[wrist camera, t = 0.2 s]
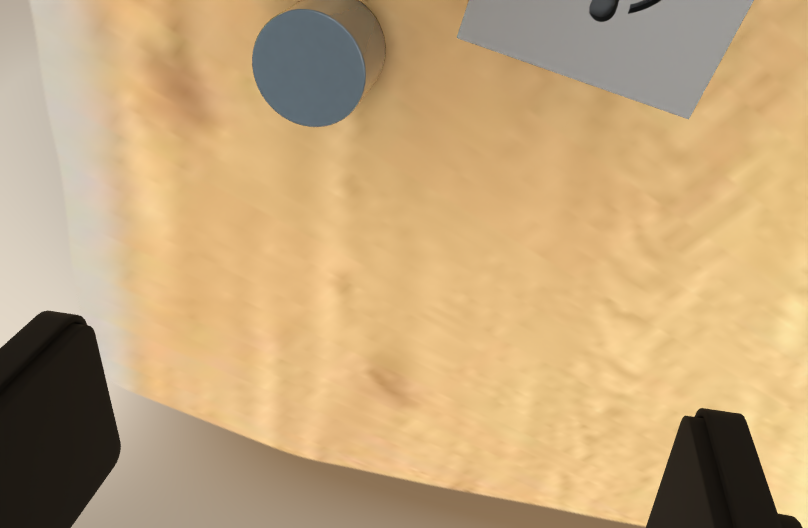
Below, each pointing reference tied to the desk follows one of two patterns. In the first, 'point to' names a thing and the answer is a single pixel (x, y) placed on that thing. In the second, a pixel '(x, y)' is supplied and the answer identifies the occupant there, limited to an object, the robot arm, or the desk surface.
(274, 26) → the short metal cylinder
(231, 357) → the desk surface
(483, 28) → the icon cube
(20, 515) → the robot arm
